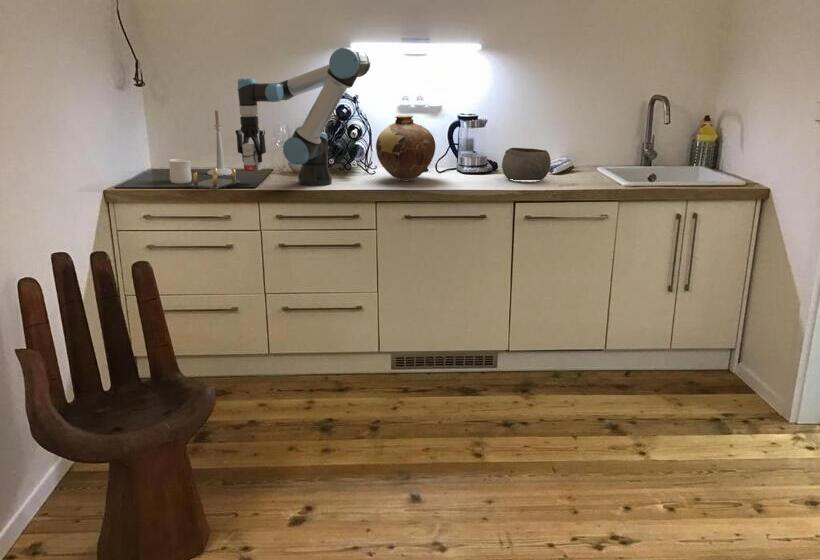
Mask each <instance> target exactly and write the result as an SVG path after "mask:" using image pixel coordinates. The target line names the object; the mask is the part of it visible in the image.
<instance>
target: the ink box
mask: <svg viewBox="0 0 820 560" xmlns="http://www.w3.org/2000/svg"><path fill="white" fill-rule="evenodd" d="M259 144H260V142H259ZM242 147H243V159H242V161H243V160H244V162H243V171H244V172H257V171H258V170H257V168H256V154H257V152H256V149H255V144H254V142H248V143H246V144H243V145H242ZM262 168H263V167H262V165H261V170H262Z"/></svg>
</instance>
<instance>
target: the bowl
mask: <svg viewBox="0 0 820 560" xmlns="http://www.w3.org/2000/svg"><path fill="white" fill-rule="evenodd" d="M551 162H552V160H551V155H550V153H549V152H548V151H547V150H545V149H544V150H543V149H539V148H525V147H510V148H508V149H507V150H505V152H504V155H503V157H502V162H501V168H502V172H503V174H504V177H505V178H506V179H507V178H508V179H513V180H541V179H543V180H544V179H545V178H546V177H547V176H548V174H549V172H550V170H551V166H552V165H551V164H552V163H551ZM508 179H507V180H508ZM541 181H542V180H541Z"/></svg>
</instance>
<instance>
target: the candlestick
mask: <svg viewBox="0 0 820 560" xmlns="http://www.w3.org/2000/svg"><path fill="white" fill-rule="evenodd" d="M220 116H221V115H220V110H214V117H215V124H213V125H214V127H215V128H214V129H215V130H216V134H215V135H216V166H215V168H217V177H218V176H219V177H223V175H226V176H232V175H231V174H232V169H231V168H228V167H226V166H225V159H224V152H223V142H222V133H221V130H222V124H221V118H220ZM206 173H207V175H209V176H213V175H212V174H213V168H211V169H210V170H208V171H207V172H206Z"/></svg>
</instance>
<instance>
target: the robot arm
mask: <svg viewBox="0 0 820 560" xmlns="http://www.w3.org/2000/svg"><path fill="white" fill-rule="evenodd" d="M369 55H370V54H368V53H367V51H365V50H364V49H362V48H360V47H349V46H344V47H343V46H342V47H340V48H338V49H336V50H334V51H333V52H332V53H331V55H330V57H329V62H328V64H326V65H324V66H321V67H318V68H315V69H313V70H310V71H308V72H305V73H303V74H300V75H297V76H294V77H292V78H288V79H286V80H283V81H280V82H271V83H269V82H268V83H267V82H266V83H257V82H256V79H255V78H239V79H237V94H238V95H237V96H238V104H239V105H238V106H239V115H240V117H239V121H240V125H241V127H240V129H236V130H235V131H234V132H235V135H236V143H237V154H241V157H242V163H244V160H243V147H242V145H243V144H246V143H250V142H249V141H250V139H251V140H252V143H254V144H255V149H256V152H257V154H256V168H257V171H261V170H262V169H261V166H262V162H263V154H266V153H267V151H266V140H265V133H266V131H265V130H262V129H260V127H259V117H258V103H259V102H269V103H276V102H278V103H279V102H281V101H287V100H290V99H292V98H293V97H296V96H300V95H302V94H305V93H307V92H310V91H313V90H316V89H318V88H321V87H322V88H321V90H320V92H319V94H318V95H317V98H316V99H315V101H314V103H313V105H312V107H311V109H310V110H309V112H308V114H307V116H306V118H305V120H304V121H303V123H302V125H301V126H297V127H296V129H295V130H294V132H293V134H292V136H291V137H289V138H287V139H286V140H285V142H284V143H283V146H282V152H283V155H284V158H285V159H286V160H287V161H288V163H291V164H292V165H295V166H298V165H299V166H300V165H301V167H300V171H299V174H298V177H297V183H298V184H299V185H303V186H313V187H314V185H319V186H326V184H328V185H331V184H332V183H333V180H332V179H333V178H332V175H331V173H330V169H329V166H328V159H329V158H328V155H329V154H328V142H329V140H328V134H327V133H326V132H324V130H325V128H326V127H327V125H328V122H329V121H330V119H331V117H332V115H333V114H334V112H335V110H336V108H337V106H338V105H339V103H340V102H341V100H342V98H343V96H344V94H345V92H346V91H347V89H349V88H352V87H353V86H354V83H355V82H356V80H357V79H358V78H360V77H363V76H365V75H366V74H367V73H368V72H369V70H370V67H371V58H370V56H369ZM259 143H260V144H259ZM330 183H331V184H330Z"/></svg>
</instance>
